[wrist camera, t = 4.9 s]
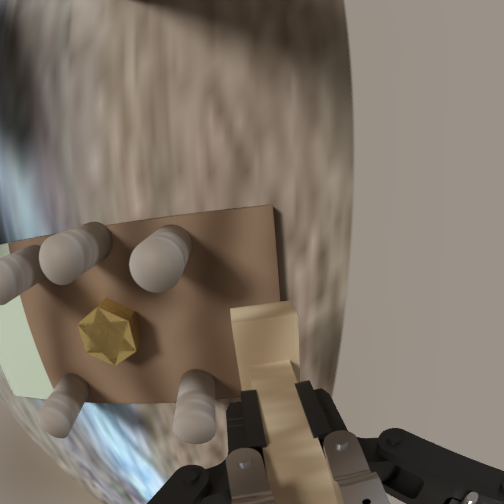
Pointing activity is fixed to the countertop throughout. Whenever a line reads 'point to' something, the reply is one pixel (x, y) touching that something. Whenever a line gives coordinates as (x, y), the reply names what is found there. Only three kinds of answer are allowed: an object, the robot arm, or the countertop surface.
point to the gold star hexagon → (110, 332)
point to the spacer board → (145, 309)
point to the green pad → (20, 350)
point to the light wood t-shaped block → (280, 402)
